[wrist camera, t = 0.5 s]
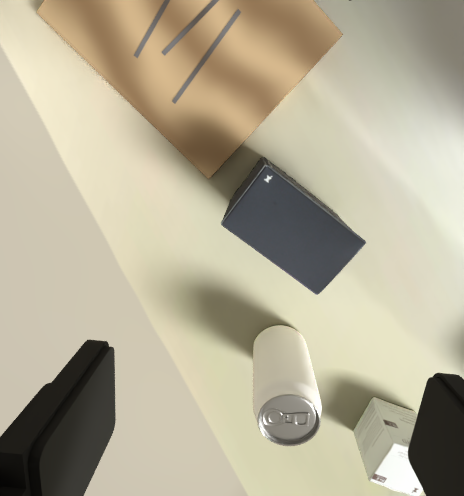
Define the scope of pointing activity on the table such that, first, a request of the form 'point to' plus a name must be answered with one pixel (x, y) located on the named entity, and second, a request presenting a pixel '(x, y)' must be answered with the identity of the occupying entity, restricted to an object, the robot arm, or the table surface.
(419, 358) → the table surface
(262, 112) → the board
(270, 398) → the can
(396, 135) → the table surface
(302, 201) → the small box
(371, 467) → the skincare box
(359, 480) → the table surface
